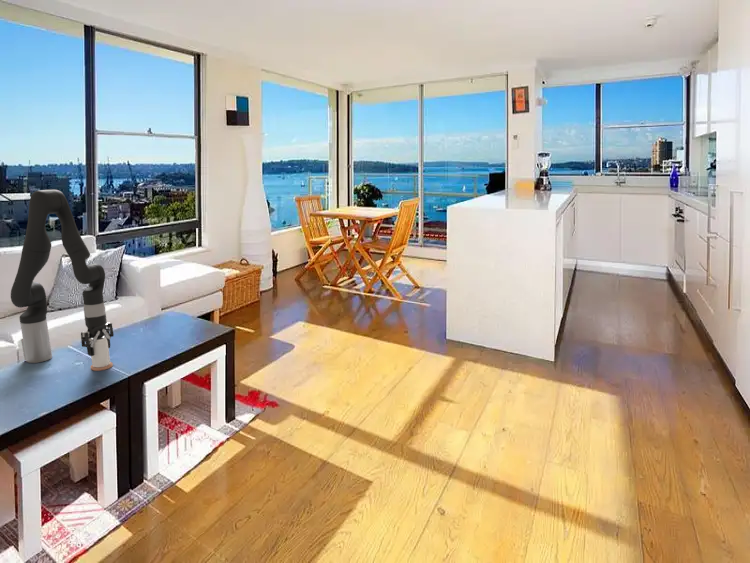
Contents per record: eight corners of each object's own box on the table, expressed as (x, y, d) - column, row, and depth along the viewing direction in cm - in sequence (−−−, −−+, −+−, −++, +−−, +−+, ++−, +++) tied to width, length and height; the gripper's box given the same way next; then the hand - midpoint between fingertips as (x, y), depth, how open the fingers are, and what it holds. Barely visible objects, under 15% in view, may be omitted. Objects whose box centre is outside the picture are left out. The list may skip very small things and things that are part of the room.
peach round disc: (86, 369, 203) (85, 367, 203) (101, 362, 211) (100, 360, 210) (102, 371, 201) (102, 369, 201) (117, 364, 209) (117, 362, 209)
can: (113, 362, 209) (110, 335, 206) (103, 368, 202) (100, 340, 200) (99, 361, 209) (95, 334, 206) (88, 367, 203) (85, 339, 200)
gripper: (100, 308, 208) (105, 344, 212) (72, 318, 195) (77, 357, 199) (116, 309, 207) (120, 346, 210) (88, 319, 193) (93, 359, 197)
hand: (99, 351), depth 204 cm, fingers open, 8 cm apart
